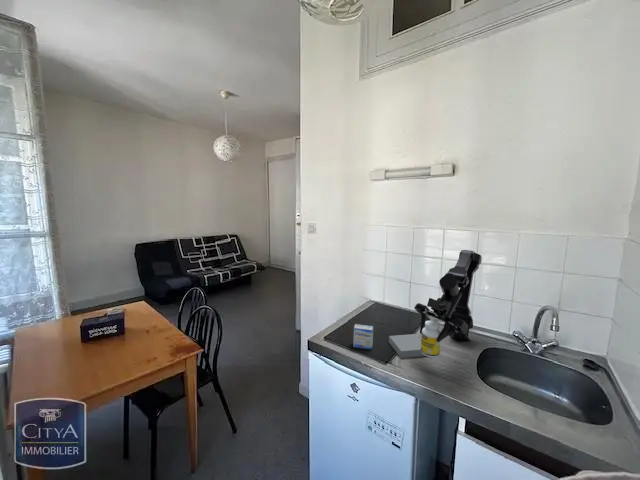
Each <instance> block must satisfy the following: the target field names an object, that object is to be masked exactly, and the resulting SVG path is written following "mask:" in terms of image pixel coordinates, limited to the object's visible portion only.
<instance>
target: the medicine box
mask: <svg viewBox="0 0 640 480" xmlns="http://www.w3.org/2000/svg"><path fill="white" fill-rule="evenodd" d="M373 338H374V325H366V324H365V325H364V324H358V323H355V324H354V325H353V340H352V341H353V344H352V345H353V348H357V349H364V350H373V345H374V344H373V343H374V339H373Z"/></svg>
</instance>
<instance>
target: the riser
mask: <svg viewBox="0 0 640 480" xmlns="http://www.w3.org/2000/svg"><path fill="white" fill-rule="evenodd" d="M388 343H389V344H390V346H391V348H393V350H394V351H395V352H396V354H397V355H398V356H399V358H400V359H407V358H417V357H419V358H420V357H427V356H426V355H424V354H423V353H422V352H421V338H420V337H419V336H417V334H415V333H413V334H412V333H411V334H398V335H396V334H395V335H389V336H388Z"/></svg>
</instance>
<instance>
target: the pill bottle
mask: <svg viewBox="0 0 640 480" xmlns="http://www.w3.org/2000/svg"><path fill="white" fill-rule="evenodd" d="M439 328H440V323H439V322H437V321H435V320H431V321H426V322H425V327H424V328H423V329H422V334H421V336H420V337H421V338H420V339H421V352H422V353H423V354H424V355H426V356H425V357H428V358H437V357H439V355H440V352H441V341H442V340H441V341H440V342H437V338H438V336H439V334H440V333H441V330H439Z"/></svg>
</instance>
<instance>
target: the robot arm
mask: <svg viewBox="0 0 640 480" xmlns="http://www.w3.org/2000/svg"><path fill="white" fill-rule="evenodd" d="M482 258H483V257H482V255H481V254H479V253H477V252H475V251H474V250H468V249H463V250H461V251H460V252H459V255H458V260H457V261H456V263H455V266H454V267H451V268H449V269H448V271H447V272H445V274H444V275H443V276H442V277H441V278H440V279H439V282H438V283H439V287H440V289H441V292H442V295H441V296H440V297H438V298H437V299H434V298H431V297H428V302H427V303H426V305H425V304H423V303H420V302H418V303H416V304H415V305H414V310H415V311H416V312H417V313H418V315H420V317H421V319H420V321H421V322H420V329H419V334H421V335H422V329H423V328H424V327H425V322H426V321H432V320H431V319H430V318H431V317H432V318H434V319H437V320H439V321H442V322H444V323H443V327H442V329H441V330H440V332H441V333H440V334H439V336H438V338H437V342H440V341H442V340H444V339H446V338H447V337H448V336H450V337H451V338H452V339H454V340H455V341H456V342H457V343H459V342H470V341H471V338H469V331H470V330H471V329H474V320H473V317H472V311H471V308H470V307H469V303H470V296H471V291H472V285H473V281H474V274H475V273H476V272H477V271H478V269H479V268H480V265H481V264H482ZM429 308H430V309H429ZM440 343H441V342H440Z"/></svg>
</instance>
